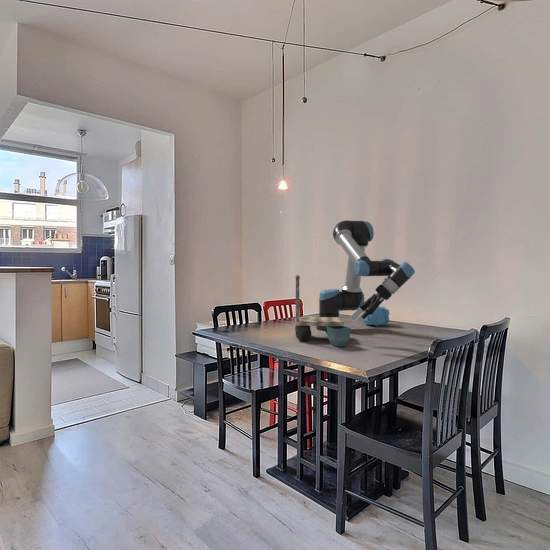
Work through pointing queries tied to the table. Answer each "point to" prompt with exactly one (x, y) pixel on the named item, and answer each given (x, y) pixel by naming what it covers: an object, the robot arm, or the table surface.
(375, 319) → the decorative pot
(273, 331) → the table surface
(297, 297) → the trolley
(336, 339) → the flower pot
